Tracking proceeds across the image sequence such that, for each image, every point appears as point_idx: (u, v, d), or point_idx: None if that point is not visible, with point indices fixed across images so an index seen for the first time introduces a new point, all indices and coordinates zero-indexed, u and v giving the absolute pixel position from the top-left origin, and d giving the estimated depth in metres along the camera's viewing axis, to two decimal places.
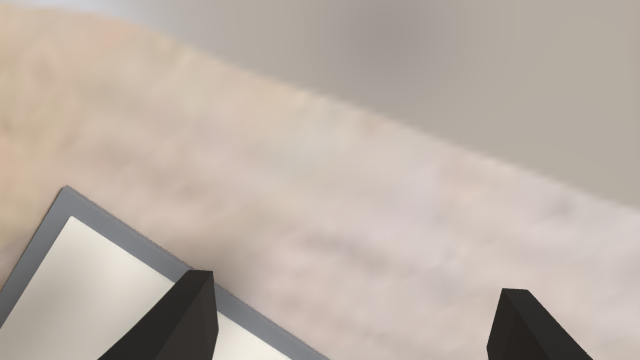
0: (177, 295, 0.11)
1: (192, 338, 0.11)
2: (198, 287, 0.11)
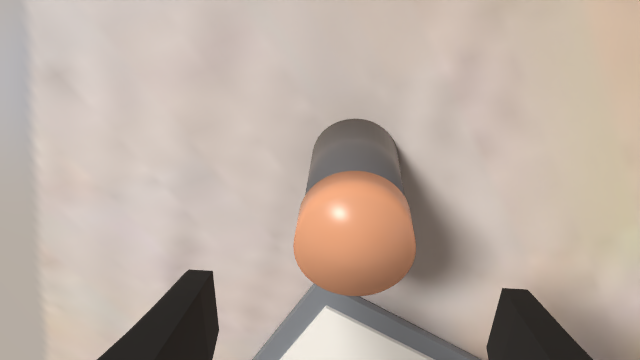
0: (177, 295, 0.11)
1: (192, 338, 0.11)
2: (198, 287, 0.11)
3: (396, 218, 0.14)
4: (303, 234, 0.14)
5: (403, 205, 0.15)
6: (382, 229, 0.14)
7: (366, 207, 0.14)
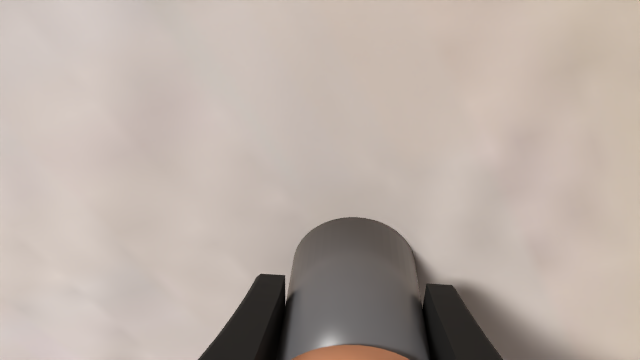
0: (257, 300, 0.11)
1: (272, 343, 0.11)
2: (276, 292, 0.11)
3: None
4: None
5: None
6: None
7: None
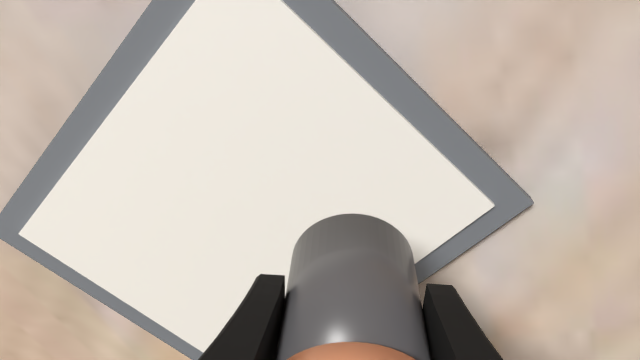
0: (257, 300, 0.11)
1: (272, 343, 0.11)
2: (276, 292, 0.11)
3: None
4: None
5: None
6: None
7: None
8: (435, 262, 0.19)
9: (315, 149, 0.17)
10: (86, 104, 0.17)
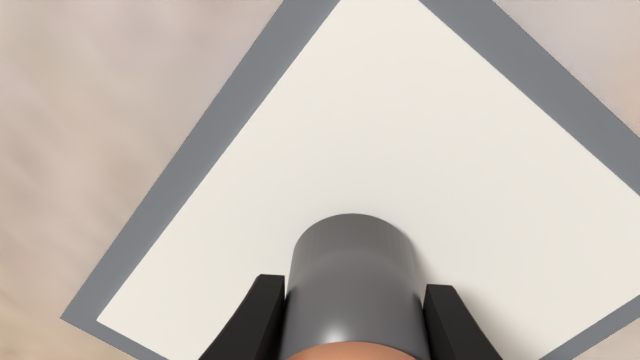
0: (257, 300, 0.11)
1: (272, 343, 0.11)
2: (276, 292, 0.11)
3: None
4: None
5: None
6: None
7: None
8: (613, 323, 0.15)
9: (469, 200, 0.13)
10: (176, 166, 0.14)
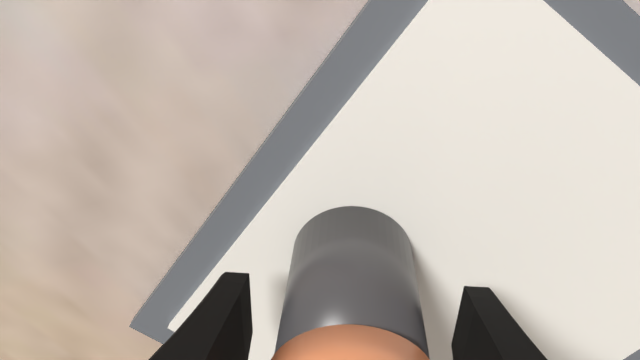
0: (218, 297, 0.11)
1: (233, 341, 0.11)
2: (237, 289, 0.11)
3: None
4: None
5: None
6: None
7: None
8: None
9: (565, 192, 0.13)
10: (257, 166, 0.13)
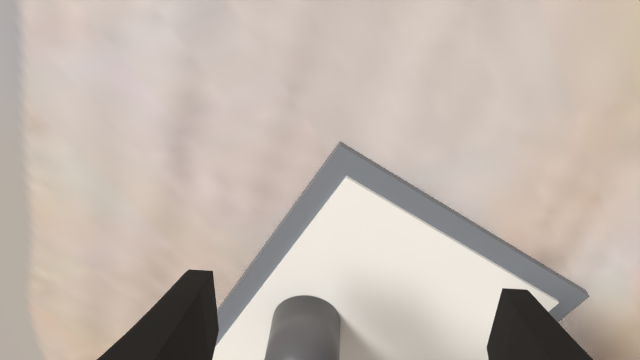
0: (177, 295, 0.11)
1: (192, 338, 0.11)
2: (198, 287, 0.11)
3: None
4: None
5: None
6: None
7: None
8: None
9: (417, 284, 0.23)
10: (249, 276, 0.24)
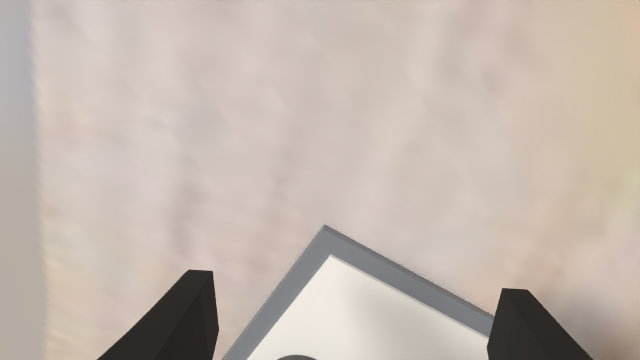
0: (177, 295, 0.11)
1: (192, 338, 0.11)
2: (198, 287, 0.11)
3: None
4: None
5: None
6: None
7: None
8: None
9: (399, 345, 0.25)
10: (245, 338, 0.26)
